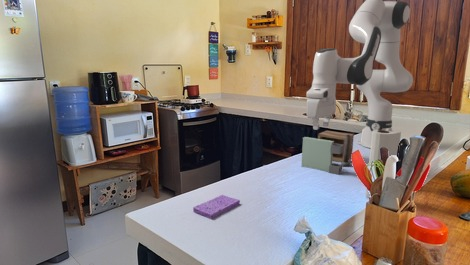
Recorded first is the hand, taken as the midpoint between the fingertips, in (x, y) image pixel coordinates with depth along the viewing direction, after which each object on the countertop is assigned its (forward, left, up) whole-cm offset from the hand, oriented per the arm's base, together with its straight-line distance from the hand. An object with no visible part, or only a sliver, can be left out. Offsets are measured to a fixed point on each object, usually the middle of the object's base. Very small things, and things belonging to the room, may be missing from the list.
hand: (321, 127), depth 122 cm
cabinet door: (0, +1, -17) cm, 17 cm away
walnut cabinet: (-17, +1, -17) cm, 24 cm away
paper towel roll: (+16, +26, -17) cm, 35 cm away
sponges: (+52, -9, -18) cm, 55 cm away
